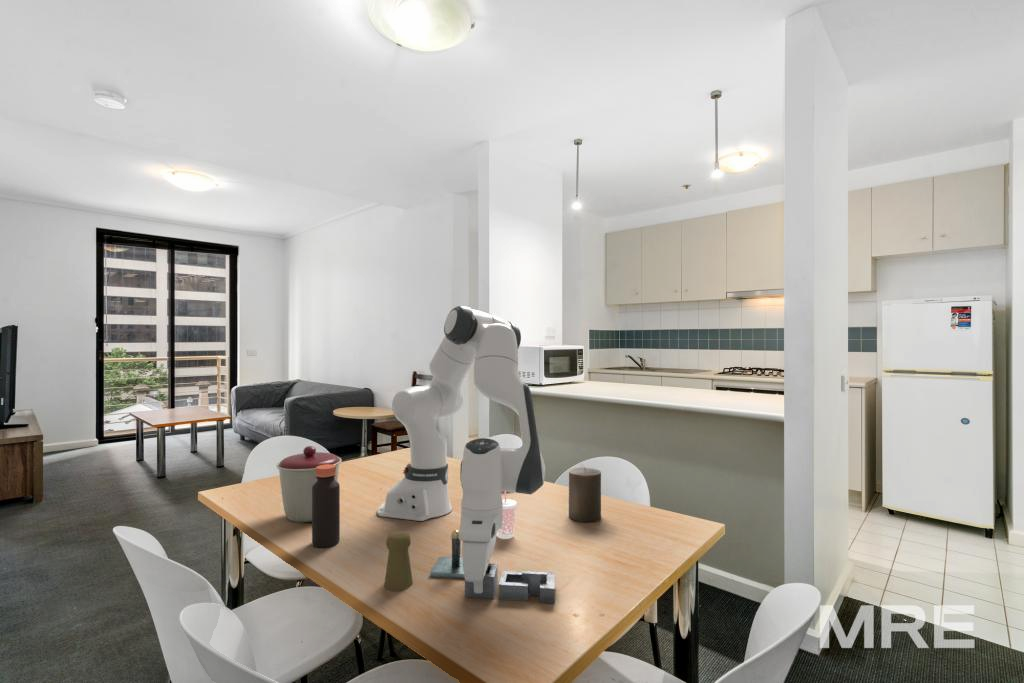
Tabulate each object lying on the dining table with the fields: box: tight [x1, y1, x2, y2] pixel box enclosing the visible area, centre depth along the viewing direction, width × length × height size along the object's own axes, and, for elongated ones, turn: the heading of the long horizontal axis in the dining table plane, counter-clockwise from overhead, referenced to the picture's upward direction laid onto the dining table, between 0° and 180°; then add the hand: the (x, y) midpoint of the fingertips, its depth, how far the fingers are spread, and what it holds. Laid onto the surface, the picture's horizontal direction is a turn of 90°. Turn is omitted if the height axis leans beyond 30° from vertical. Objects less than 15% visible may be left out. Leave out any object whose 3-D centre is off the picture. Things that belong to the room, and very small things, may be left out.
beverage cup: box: [496, 492, 518, 540], centre depth 136 cm, size 6×6×14 cm
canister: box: [276, 445, 342, 523], centre depth 150 cm, size 18×18×21 cm
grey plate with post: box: [429, 529, 465, 579], centre depth 116 cm, size 10×8×9 cm
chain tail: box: [498, 570, 556, 605], centre depth 105 cm, size 12×7×4 cm, turn 84°
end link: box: [464, 562, 499, 600], centre depth 106 cm, size 6×6×4 cm
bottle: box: [311, 464, 341, 549], centre depth 131 cm, size 7×7×20 cm
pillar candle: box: [568, 467, 602, 523], centre depth 150 cm, size 10×10×15 cm
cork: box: [384, 531, 413, 592], centre depth 109 cm, size 6×6×11 cm
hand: (481, 582), depth 106 cm, fingers closed on end link, 6 cm apart
